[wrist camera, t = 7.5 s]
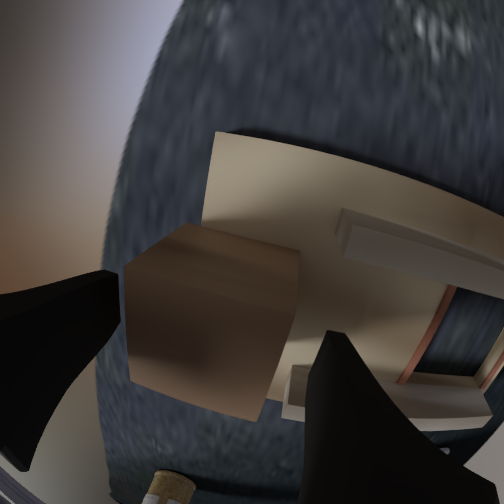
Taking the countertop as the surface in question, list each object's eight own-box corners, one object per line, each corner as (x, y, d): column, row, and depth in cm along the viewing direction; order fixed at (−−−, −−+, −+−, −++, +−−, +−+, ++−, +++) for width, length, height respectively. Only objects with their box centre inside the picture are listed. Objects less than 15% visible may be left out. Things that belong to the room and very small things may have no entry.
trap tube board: (460, 406, 14) (475, 443, 10) (192, 364, 15) (169, 409, 12) (549, 242, 9) (586, 265, 6) (223, 132, 11) (190, 127, 8)
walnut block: (272, 343, 13) (256, 421, 8) (176, 316, 13) (130, 380, 9) (299, 250, 11) (295, 314, 7) (186, 222, 11) (124, 266, 7)
